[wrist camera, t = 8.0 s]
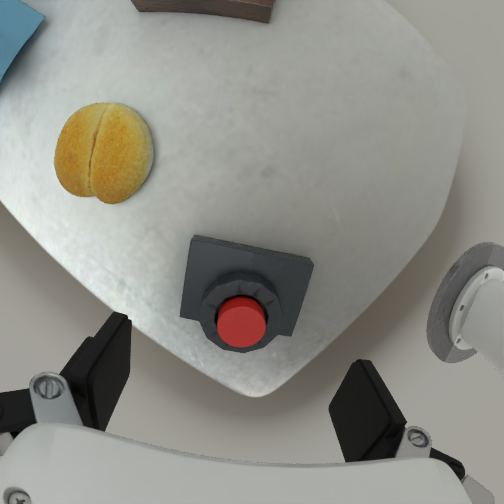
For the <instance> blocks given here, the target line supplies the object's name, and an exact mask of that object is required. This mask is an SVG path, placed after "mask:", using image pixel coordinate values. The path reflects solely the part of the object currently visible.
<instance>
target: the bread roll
mask: <svg viewBox="0 0 504 504" xmlns="http://www.w3.org/2000/svg"><path fill="white" fill-rule="evenodd" d="M153 158H154V148H153V142H152V137H151V133H150V130H149V128H148V126H147V124H146V123H145V121H144V120H143V118H142V117H141V116H140V115H139V114H138V113H137V112H136V111H134V110H133V109H132V108H130V107H128V106H126V105H124V104H120V103H95V104H91V105H88V106H85V107H83V108H81V109H79V110H78V111H77V112H75V113H74V114H73V115H72V116H71V117H70V118H69V119H68V121H67V122H66V124H65V125H64V127H63V129H62V132H61V134H60V136H59V138H58V142H57V145H56V150H55V157H54V167H55V170H56V174H57V177H58V179H59V181H60V183H61V185H62V186H63V187H64V188H65V189H66V190H67V191H68V192H70V193H71V194H73V195H76V196H80V197H92V196H96V197H97V198H98V199H99V200H100V201H102V202H104V203H108V204H117V203H120V202H122V201H124V200H126V199H127V198H129V197H130V196H131V195H132V194H133V193H134V192H135V191H137V189H138V188H139V187H140V186H141V184H142V183H143V182H144V181H145V179H146V178H147V176H148V174H149V172H150V170H151V167H152V163H153Z"/></svg>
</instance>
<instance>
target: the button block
mask: <svg viewBox="0 0 504 504" xmlns="http://www.w3.org/2000/svg"><path fill="white" fill-rule="evenodd" d="M313 267H314V264H313V262H312V261H311V260H310V258H306V257H302V256H297V255H292V254H287V253H282V252H277V251H272V250H267V249H263V248H258V247H253V246H248V245H243V244H238V243H233V242H228V241H223V240H218V239H213V238H208V237H203V236H198V235H194V236H193V238H192V239H191V243H190V249H189V255H188V261H187V268H186V274H185V281H184V288H183V295H182V302H181V310H180V317H182V318H187V319H192V320H197V321H199V322H200V324H201V326H202V329H203V331H204V333H205V335H206V337H207V338H208V339H209V340H210V341H212V342H213V343H215V344H216V345H217V346H219V347H220V348H222V349H223V350H228V351H234V352H240V353H246V352H249V351H253V350H257V349H260V348H263V347H265V346H266V345H267V344H268V343H269V342H270V341H272V340H273V339H274V338H275V337H276V336H277V335H284V336H292V333H293V330H294V327H295V324H296V321H297V318H298V315H299V312H300V309H301V306H302V303H303V300H304V296H305V293H306V290H307V287H308V284H309V280H310V277H311V274H312V270H313ZM235 297H248V298H251V299H253V300H255V301H256V302H257V303H259V305H260V306H261V307H262V309H263V312H264V318H265V323H266V330H265V333H264V335H263V337H262V338H261V339H260V340H259V341H258V342H257V343H255V344H254V345H251V346H248V347H235V346H231V345H229V344H227V343H226V342H225V341H223V340H222V338H221V337H220V335H219V333H218V330H217V323H218V315H219V310H220V308H221V307H222V305H223V304H224V303H225V302H226V301H228V300H229V299H232V298H235Z"/></svg>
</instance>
